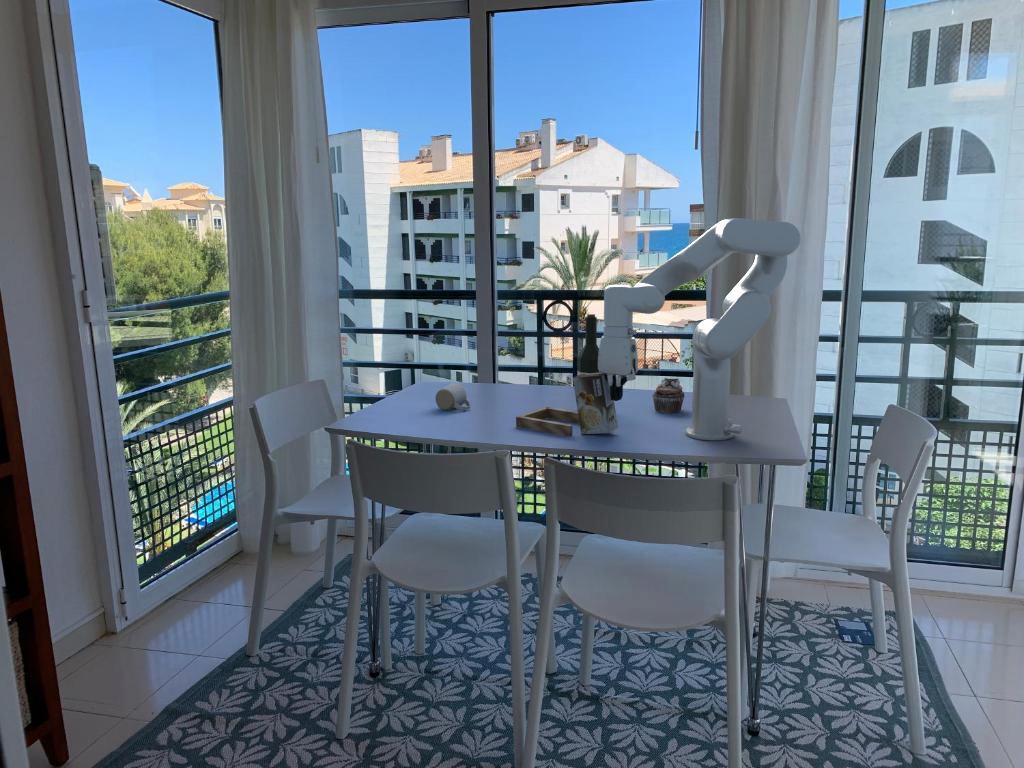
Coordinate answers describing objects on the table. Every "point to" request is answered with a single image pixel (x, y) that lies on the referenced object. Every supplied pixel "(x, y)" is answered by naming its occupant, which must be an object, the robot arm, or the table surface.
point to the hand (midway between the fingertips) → (616, 399)
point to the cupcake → (668, 396)
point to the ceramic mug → (452, 397)
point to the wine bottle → (589, 348)
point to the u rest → (538, 423)
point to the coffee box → (594, 404)
